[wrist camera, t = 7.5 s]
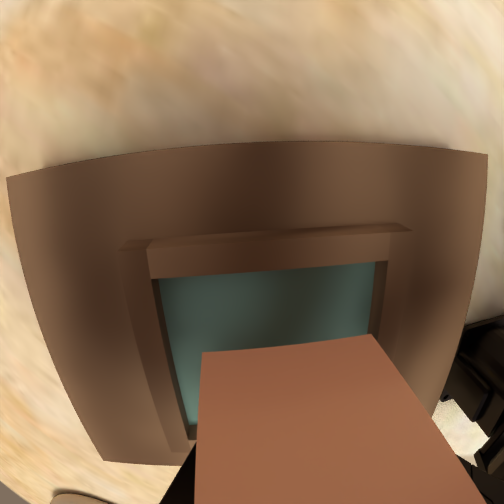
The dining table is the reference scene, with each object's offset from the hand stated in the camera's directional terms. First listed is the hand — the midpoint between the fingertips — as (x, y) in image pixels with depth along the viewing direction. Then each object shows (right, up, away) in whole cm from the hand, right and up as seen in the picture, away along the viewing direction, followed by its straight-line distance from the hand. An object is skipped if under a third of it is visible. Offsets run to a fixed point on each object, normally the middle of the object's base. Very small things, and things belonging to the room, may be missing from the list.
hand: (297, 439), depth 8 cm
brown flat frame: (-1, +2, +7) cm, 8 cm away
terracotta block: (0, 0, +1) cm, 2 cm away
